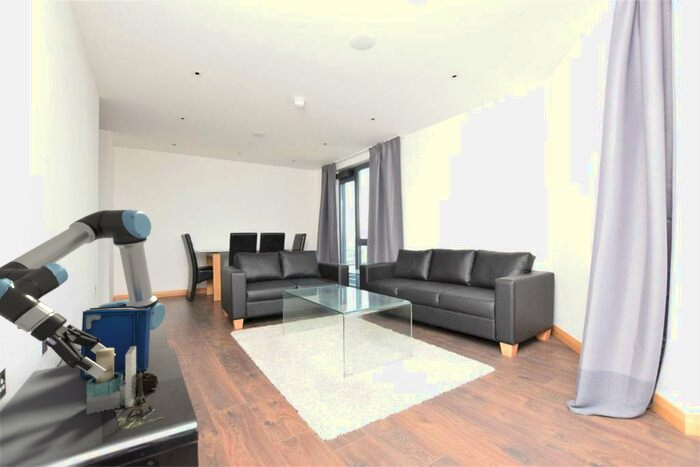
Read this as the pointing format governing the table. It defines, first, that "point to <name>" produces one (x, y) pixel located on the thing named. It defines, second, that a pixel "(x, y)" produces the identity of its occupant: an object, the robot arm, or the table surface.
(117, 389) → the bracket
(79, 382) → the table surface
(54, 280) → the robot arm
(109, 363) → the beige wooden block
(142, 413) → the eiffel tower figurine
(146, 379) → the dark brown rounded block
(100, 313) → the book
